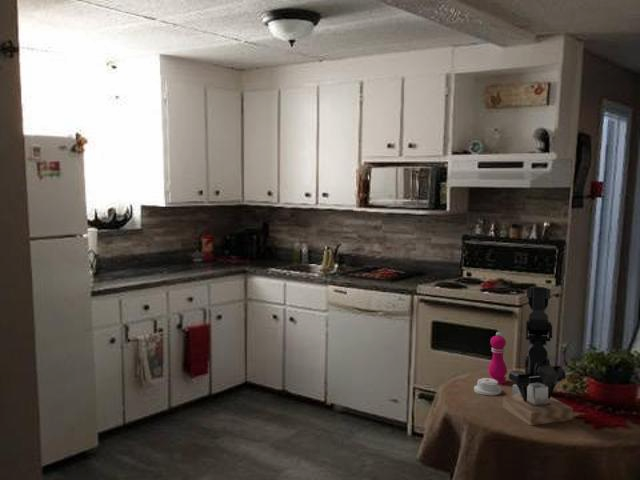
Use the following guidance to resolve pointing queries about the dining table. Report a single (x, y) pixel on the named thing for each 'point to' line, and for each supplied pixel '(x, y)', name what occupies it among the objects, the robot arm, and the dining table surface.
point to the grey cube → (515, 391)
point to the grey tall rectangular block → (537, 394)
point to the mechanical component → (487, 387)
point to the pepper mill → (498, 359)
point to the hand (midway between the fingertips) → (536, 399)
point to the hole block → (537, 410)
